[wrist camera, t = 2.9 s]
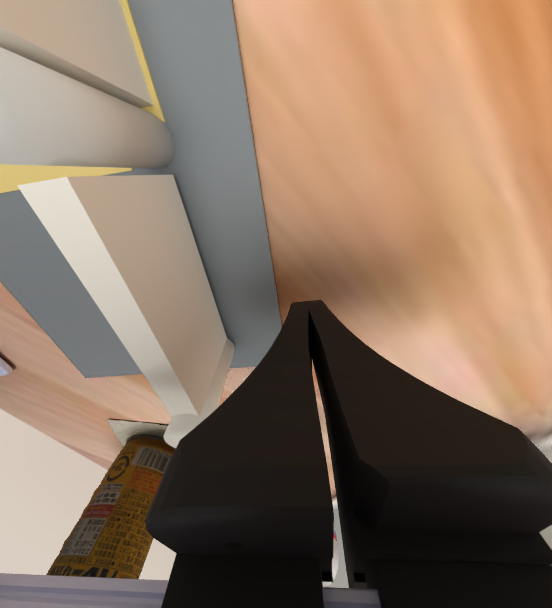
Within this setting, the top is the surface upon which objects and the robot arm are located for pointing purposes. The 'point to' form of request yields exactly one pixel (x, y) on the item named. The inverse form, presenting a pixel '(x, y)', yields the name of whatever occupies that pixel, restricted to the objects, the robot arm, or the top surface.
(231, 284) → the board
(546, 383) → the top surface
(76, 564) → the condiment
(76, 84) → the fixed fence section
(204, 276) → the fence panel
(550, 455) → the top surface
